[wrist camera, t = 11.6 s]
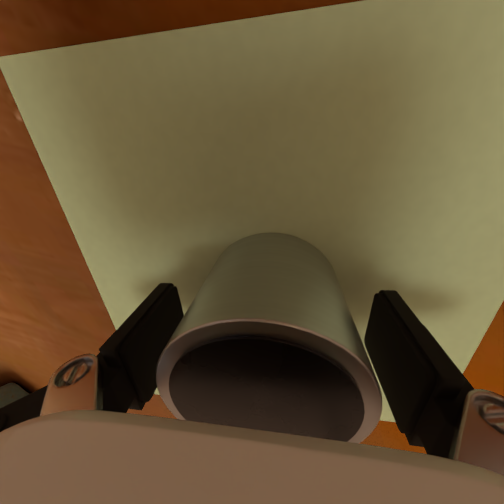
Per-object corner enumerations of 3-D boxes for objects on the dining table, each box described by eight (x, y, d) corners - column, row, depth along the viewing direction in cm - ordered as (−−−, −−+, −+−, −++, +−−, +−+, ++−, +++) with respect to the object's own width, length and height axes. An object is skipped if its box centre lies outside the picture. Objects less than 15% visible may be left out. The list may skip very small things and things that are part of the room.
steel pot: (203, 232, 11) (122, 315, 5) (345, 231, 10) (416, 332, 4) (219, 331, 14) (177, 449, 8) (330, 339, 13) (362, 477, 7)
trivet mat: (1, 59, 9) (-5, 57, 9) (687, -46, 6) (700, -53, 5) (145, 390, 18) (143, 392, 18) (431, 423, 15) (433, 426, 15)
